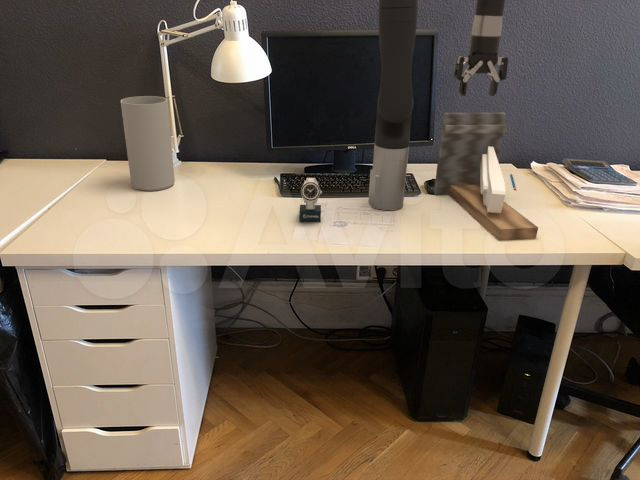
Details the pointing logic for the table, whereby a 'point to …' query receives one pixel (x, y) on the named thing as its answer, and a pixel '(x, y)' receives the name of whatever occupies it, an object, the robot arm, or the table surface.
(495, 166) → the shelf bracket
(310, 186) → the watch
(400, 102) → the robot arm
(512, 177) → the pencil
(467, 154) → the cleat wall board
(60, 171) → the table surface
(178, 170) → the table surface
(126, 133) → the cylinder vase
